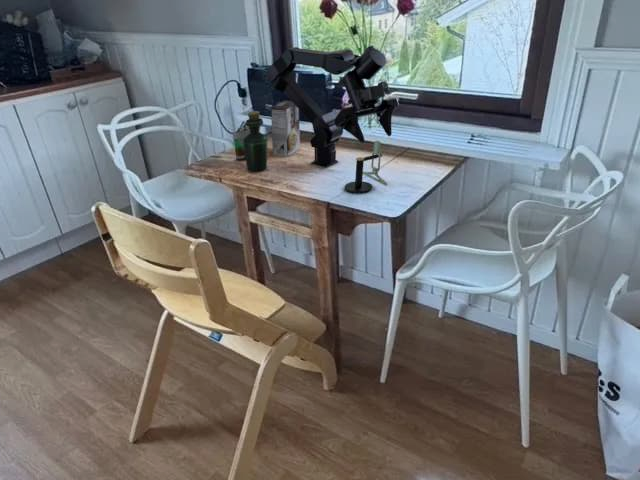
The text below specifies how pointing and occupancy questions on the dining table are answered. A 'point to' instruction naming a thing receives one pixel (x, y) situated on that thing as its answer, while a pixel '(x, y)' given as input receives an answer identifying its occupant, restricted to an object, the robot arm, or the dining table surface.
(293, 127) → the coffee box
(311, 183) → the dining table surface
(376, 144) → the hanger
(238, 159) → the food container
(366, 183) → the black holder stand
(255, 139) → the potion bottle
